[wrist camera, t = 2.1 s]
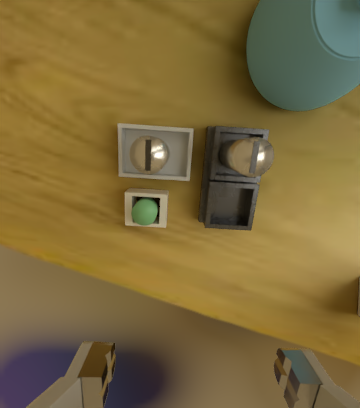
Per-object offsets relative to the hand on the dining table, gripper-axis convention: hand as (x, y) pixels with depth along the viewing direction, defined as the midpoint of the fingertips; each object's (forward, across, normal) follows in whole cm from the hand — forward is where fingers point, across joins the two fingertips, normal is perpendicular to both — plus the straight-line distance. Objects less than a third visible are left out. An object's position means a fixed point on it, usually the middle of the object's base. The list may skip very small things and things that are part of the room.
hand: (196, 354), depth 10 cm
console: (+23, +6, -2) cm, 23 cm away
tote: (+22, +4, -10) cm, 25 cm away
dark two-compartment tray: (+22, -6, -7) cm, 24 cm away
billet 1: (+22, +4, -10) cm, 24 cm away
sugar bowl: (+22, -14, -24) cm, 35 cm away
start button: (+21, +6, -2) cm, 21 cm away
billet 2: (+21, -6, -10) cm, 24 cm away
